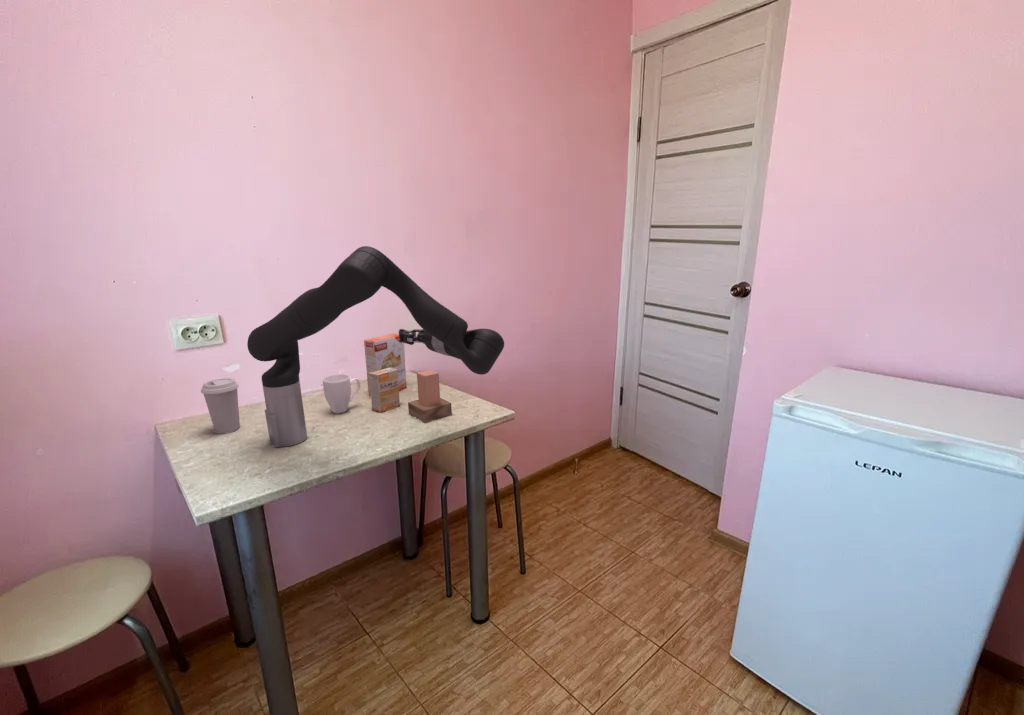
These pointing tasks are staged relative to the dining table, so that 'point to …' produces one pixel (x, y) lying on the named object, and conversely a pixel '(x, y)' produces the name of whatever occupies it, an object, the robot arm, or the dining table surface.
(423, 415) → the walnut base
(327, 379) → the mug
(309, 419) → the dining table surface
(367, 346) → the cracker box
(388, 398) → the supplement box
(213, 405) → the coffee cup
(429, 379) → the terracotta block
